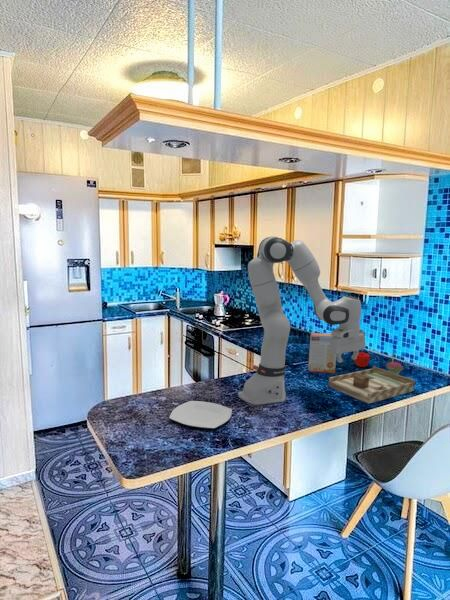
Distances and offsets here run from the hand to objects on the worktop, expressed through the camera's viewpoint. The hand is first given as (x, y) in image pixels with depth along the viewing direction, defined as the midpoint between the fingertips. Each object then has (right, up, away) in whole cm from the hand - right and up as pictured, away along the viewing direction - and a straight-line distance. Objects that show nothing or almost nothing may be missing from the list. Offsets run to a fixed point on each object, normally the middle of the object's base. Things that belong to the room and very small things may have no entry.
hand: (346, 360), depth 193 cm
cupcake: (+36, -13, +37) cm, 53 cm away
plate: (-65, -19, -27) cm, 73 cm away
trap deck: (+16, -16, +13) cm, 26 cm away
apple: (+22, -11, +49) cm, 55 cm away
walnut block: (+9, -14, +9) cm, 19 cm away
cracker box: (-3, -11, +37) cm, 39 cm away
